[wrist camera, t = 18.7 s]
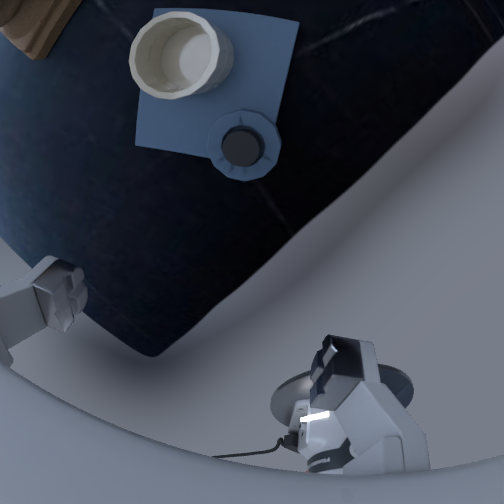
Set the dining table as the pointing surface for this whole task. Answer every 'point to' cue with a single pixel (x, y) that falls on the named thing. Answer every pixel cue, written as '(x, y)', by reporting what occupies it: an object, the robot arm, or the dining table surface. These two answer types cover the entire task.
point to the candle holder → (35, 23)
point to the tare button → (241, 147)
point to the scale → (227, 96)
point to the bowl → (180, 56)
